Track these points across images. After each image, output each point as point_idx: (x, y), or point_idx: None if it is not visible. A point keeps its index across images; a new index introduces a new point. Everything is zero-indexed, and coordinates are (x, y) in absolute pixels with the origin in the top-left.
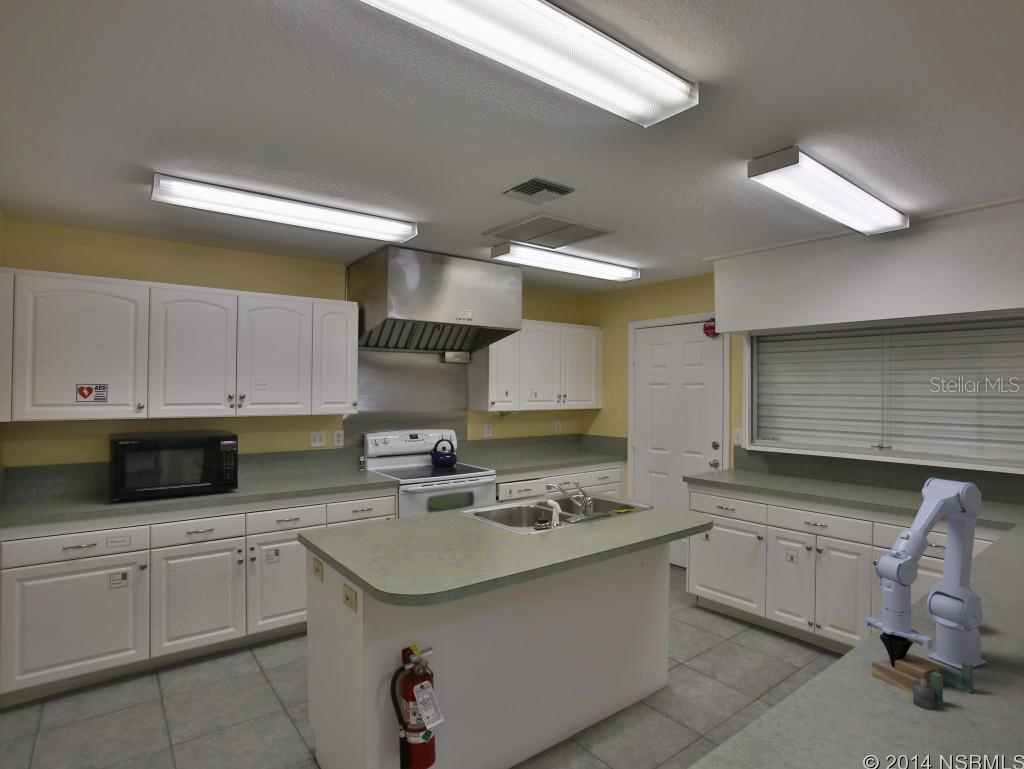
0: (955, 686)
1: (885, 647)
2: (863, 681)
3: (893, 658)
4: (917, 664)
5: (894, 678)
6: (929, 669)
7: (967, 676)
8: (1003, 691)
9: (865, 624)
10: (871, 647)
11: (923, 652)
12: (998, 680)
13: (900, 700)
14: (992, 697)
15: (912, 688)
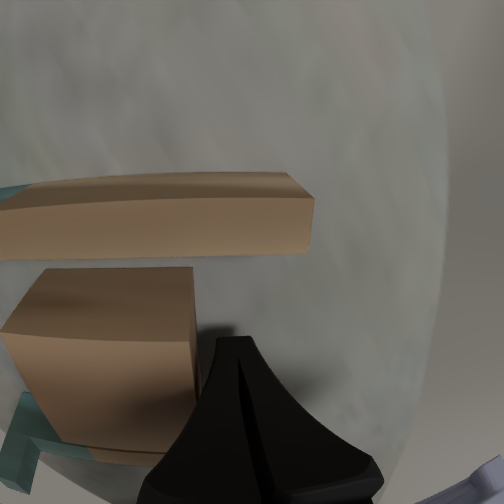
0: None
1: (308, 413)
2: (265, 40)
3: (237, 373)
4: (101, 404)
5: (120, 188)
6: (35, 394)
7: (10, 438)
8: None
9: (494, 465)
10: (400, 405)
11: None
12: (94, 481)
13: (21, 47)
14: (6, 409)
15: (19, 192)
